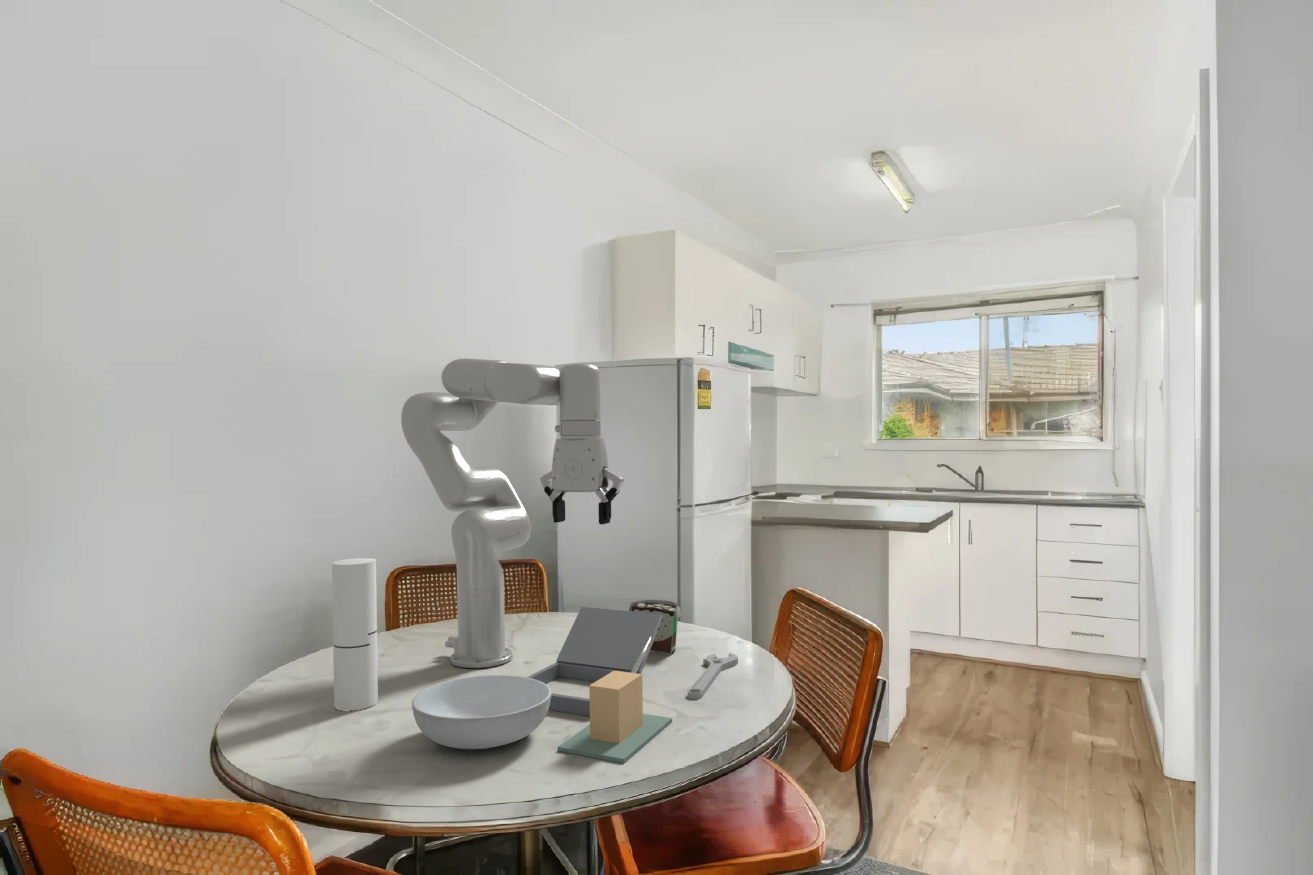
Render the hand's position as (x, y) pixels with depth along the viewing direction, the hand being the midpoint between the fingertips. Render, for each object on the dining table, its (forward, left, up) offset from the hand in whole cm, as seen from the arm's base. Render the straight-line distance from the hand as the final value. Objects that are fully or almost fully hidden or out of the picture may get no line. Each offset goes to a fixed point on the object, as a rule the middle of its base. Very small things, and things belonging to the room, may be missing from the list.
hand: (581, 522), depth 142 cm
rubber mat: (+17, -19, -30) cm, 40 cm away
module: (+17, -19, -30) cm, 39 cm away
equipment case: (+1, 0, -30) cm, 30 cm away
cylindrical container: (-32, -24, -31) cm, 50 cm away
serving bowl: (-2, -28, -31) cm, 41 cm away
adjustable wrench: (+19, +14, -31) cm, 39 cm away
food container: (+3, +28, -31) cm, 42 cm away
